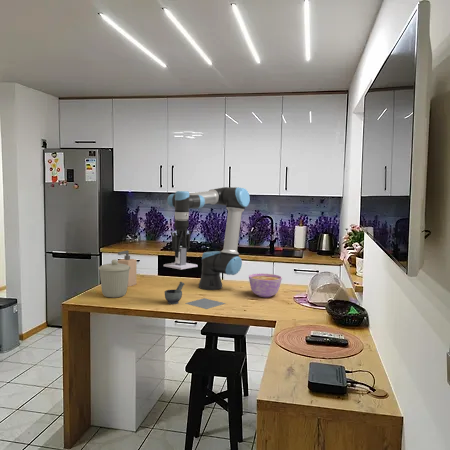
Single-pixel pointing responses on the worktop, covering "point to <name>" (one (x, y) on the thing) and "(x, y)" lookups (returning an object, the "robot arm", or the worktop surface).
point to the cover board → (172, 265)
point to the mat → (205, 303)
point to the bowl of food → (265, 284)
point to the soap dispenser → (132, 264)
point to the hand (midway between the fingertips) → (180, 262)
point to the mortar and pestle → (174, 294)
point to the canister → (114, 279)
